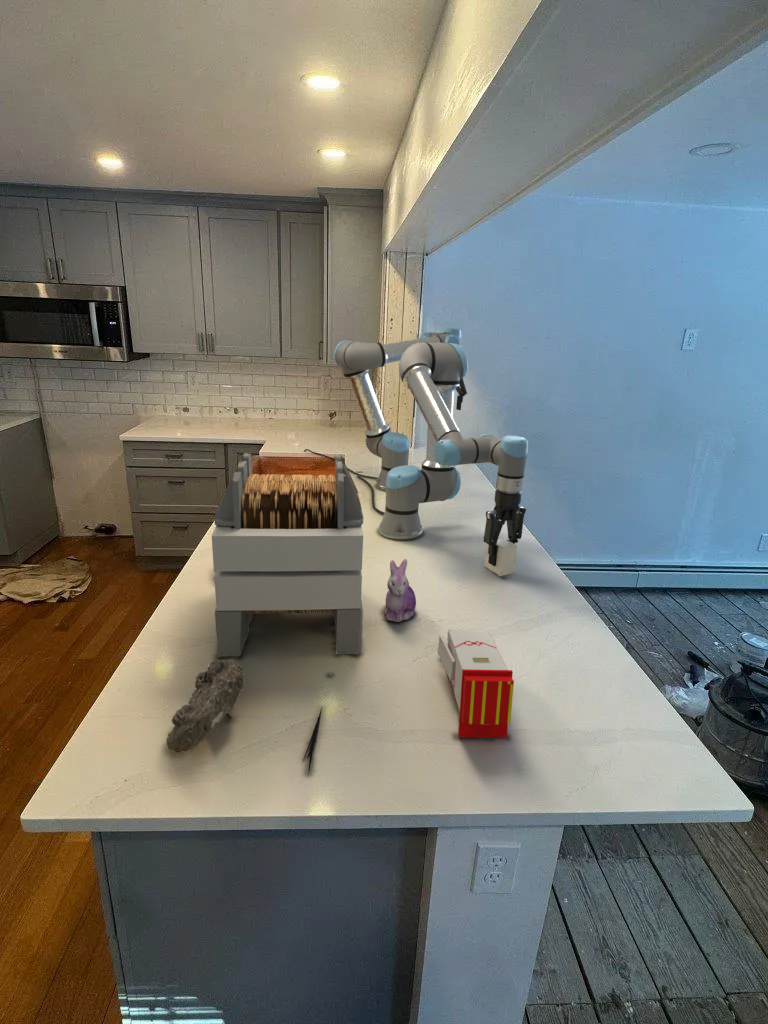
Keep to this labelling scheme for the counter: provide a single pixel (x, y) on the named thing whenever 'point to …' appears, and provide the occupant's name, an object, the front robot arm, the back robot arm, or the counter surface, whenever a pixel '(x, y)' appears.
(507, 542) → the block
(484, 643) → the toy
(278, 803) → the counter surface
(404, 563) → the figurine
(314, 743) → the dark thin pointed pieces
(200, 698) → the fossil
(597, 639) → the counter surface
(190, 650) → the counter surface
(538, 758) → the counter surface
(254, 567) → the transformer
